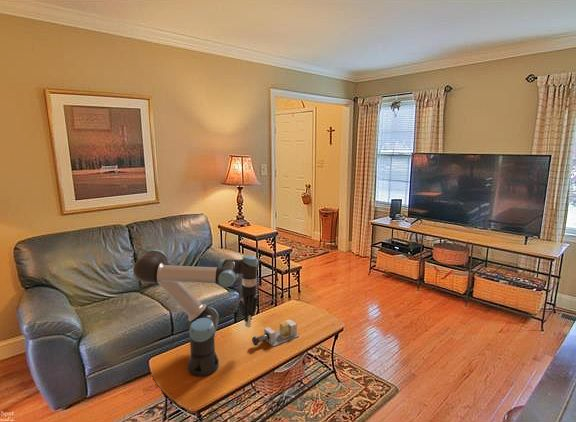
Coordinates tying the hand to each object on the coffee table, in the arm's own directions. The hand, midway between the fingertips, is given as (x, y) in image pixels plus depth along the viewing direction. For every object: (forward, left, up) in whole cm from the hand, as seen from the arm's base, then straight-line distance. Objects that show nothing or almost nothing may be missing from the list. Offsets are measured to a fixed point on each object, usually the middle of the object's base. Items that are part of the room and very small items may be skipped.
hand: (247, 326), depth 183 cm
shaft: (+9, -1, -12) cm, 15 cm away
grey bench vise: (+21, -1, -14) cm, 25 cm away
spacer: (+24, -1, -13) cm, 27 cm away
